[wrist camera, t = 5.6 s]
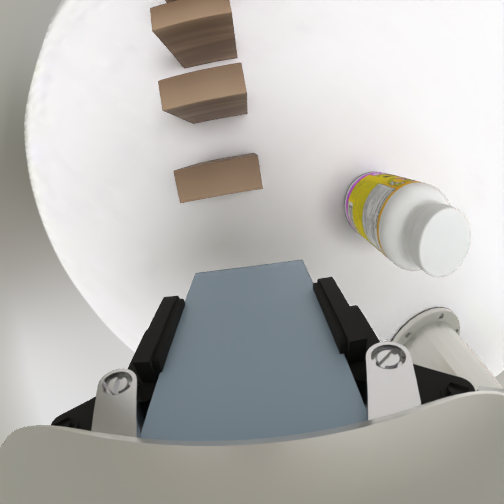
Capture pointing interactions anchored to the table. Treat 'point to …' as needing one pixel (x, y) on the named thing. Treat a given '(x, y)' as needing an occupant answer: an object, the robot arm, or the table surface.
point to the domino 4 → (252, 361)
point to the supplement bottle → (408, 222)
